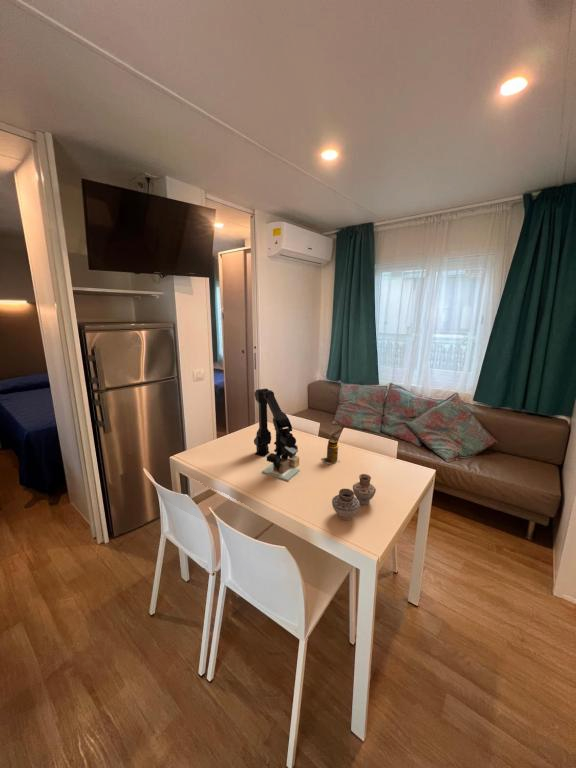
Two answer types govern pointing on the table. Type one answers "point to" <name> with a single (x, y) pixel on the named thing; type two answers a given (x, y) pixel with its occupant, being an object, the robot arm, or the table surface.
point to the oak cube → (293, 461)
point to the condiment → (331, 452)
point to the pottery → (353, 498)
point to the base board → (285, 476)
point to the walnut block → (282, 466)
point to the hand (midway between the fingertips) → (281, 467)
